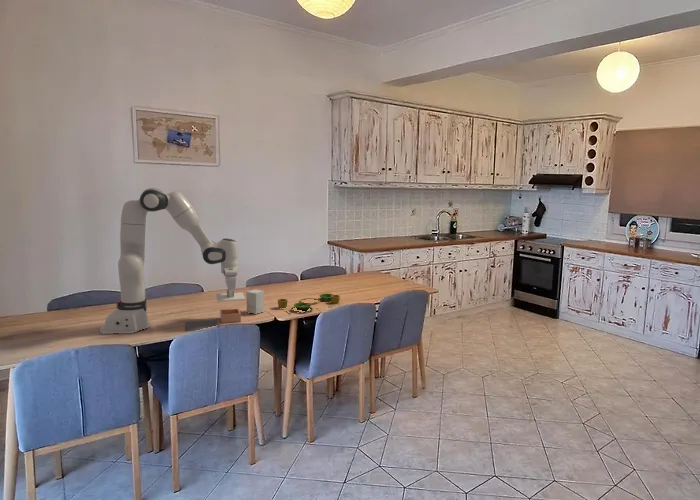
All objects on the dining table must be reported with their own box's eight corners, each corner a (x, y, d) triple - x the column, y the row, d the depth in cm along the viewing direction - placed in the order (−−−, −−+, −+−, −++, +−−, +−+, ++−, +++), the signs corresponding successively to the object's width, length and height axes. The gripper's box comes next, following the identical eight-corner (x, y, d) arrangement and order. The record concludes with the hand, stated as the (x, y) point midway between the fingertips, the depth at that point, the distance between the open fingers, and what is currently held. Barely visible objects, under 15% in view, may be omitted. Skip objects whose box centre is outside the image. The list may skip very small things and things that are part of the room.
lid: (217, 302, 238) (217, 293, 237) (216, 295, 251) (215, 287, 250) (245, 300, 243) (245, 292, 242) (242, 293, 256) (242, 286, 255)
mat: (184, 332, 228) (184, 331, 228) (185, 322, 243) (185, 321, 243) (218, 329, 233) (218, 329, 233) (216, 320, 248) (216, 319, 248)
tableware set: (289, 316, 260) (289, 306, 260) (270, 304, 284) (270, 294, 283) (351, 307, 282) (351, 297, 281) (329, 297, 305) (329, 288, 304)
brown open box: (221, 324, 242) (221, 315, 242) (220, 318, 252) (219, 309, 251) (240, 322, 246) (240, 313, 245) (238, 317, 255) (238, 308, 254)
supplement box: (264, 312, 266) (264, 290, 264) (255, 315, 260) (255, 293, 258) (255, 310, 270) (254, 289, 268) (246, 313, 264) (246, 291, 262)
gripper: (222, 265, 253) (222, 290, 255) (225, 273, 234) (225, 299, 236) (234, 265, 255) (234, 289, 257) (237, 272, 236) (238, 298, 238)
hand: (230, 294), depth 247 cm, fingers closed on lid, 3 cm apart
